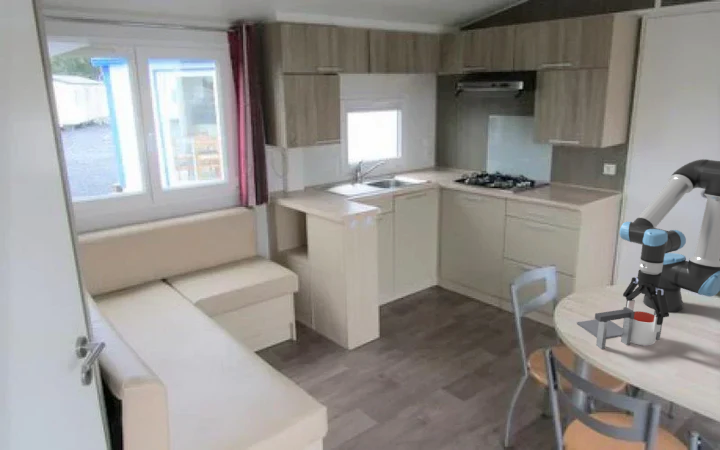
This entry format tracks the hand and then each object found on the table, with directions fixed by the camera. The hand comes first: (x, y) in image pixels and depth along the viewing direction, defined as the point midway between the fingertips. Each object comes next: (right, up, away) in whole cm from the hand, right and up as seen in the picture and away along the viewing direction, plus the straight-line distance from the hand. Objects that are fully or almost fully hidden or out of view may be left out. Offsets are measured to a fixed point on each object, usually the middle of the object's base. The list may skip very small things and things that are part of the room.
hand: (642, 323), depth 199 cm
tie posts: (-5, -7, +1) cm, 9 cm away
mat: (-9, -4, +12) cm, 16 cm away
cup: (0, -7, +2) cm, 8 cm away
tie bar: (-13, +3, -4) cm, 14 cm away
